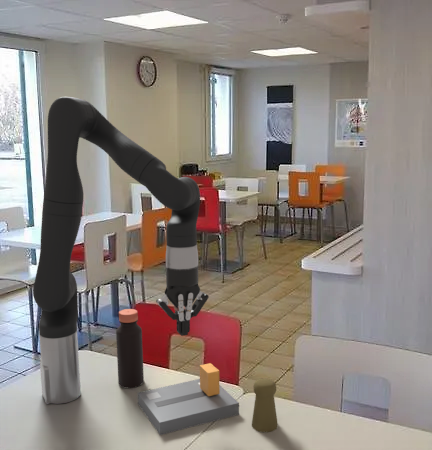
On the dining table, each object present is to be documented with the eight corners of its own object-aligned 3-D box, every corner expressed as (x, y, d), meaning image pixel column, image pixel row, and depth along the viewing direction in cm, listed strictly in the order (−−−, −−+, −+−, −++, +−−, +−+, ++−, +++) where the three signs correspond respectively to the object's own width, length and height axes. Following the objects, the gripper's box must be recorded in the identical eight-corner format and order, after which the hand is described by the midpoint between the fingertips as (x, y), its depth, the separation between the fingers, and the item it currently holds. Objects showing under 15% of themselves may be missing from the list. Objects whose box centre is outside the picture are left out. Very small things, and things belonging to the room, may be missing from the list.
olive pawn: (276, 433, 127) (276, 387, 126) (249, 430, 129) (249, 385, 127) (279, 419, 133) (279, 375, 131) (253, 417, 135) (253, 373, 133)
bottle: (113, 384, 152) (109, 313, 149) (130, 375, 158) (127, 306, 154) (131, 391, 149) (128, 317, 145) (149, 381, 154) (146, 310, 150)
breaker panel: (160, 434, 127) (159, 422, 127) (137, 403, 142) (137, 392, 141) (238, 414, 136) (238, 402, 135) (210, 387, 150) (210, 376, 150)
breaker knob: (208, 396, 138) (208, 373, 137) (200, 387, 142) (199, 365, 141) (219, 393, 139) (219, 370, 138) (210, 385, 144) (210, 363, 143)
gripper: (201, 257, 139) (202, 325, 142) (149, 263, 133) (151, 333, 136) (214, 264, 132) (215, 335, 135) (160, 270, 126) (162, 344, 129)
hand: (183, 334), depth 135 cm, fingers closed
